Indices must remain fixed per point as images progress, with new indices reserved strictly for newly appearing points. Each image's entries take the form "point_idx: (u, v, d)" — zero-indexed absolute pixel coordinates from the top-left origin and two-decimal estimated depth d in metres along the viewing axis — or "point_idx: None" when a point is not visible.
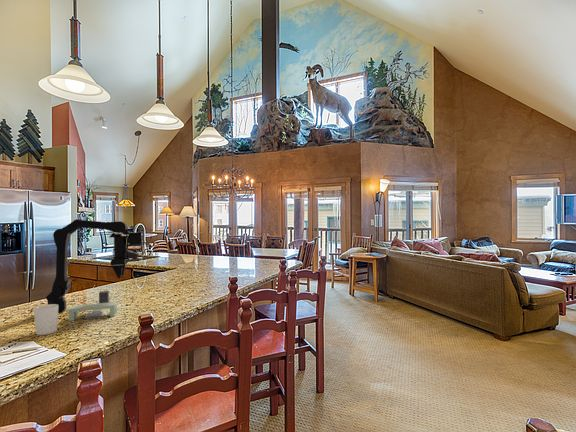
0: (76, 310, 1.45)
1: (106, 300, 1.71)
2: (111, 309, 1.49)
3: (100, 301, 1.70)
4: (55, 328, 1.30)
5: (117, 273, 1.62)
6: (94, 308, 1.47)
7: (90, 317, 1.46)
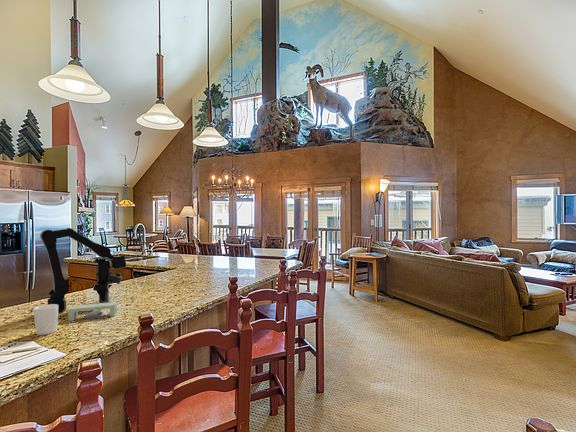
0: (76, 310, 1.45)
1: (106, 300, 1.71)
2: (111, 309, 1.49)
3: (100, 301, 1.70)
4: (55, 328, 1.30)
5: (101, 296, 1.69)
6: (94, 308, 1.47)
7: (90, 317, 1.46)
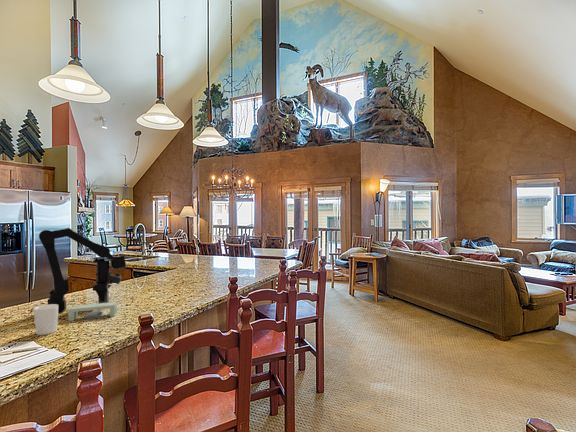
0: (76, 310, 1.45)
1: (105, 300, 1.69)
2: (111, 309, 1.49)
3: (99, 301, 1.68)
4: (55, 328, 1.30)
5: (100, 297, 1.68)
6: (94, 308, 1.47)
7: (90, 317, 1.46)
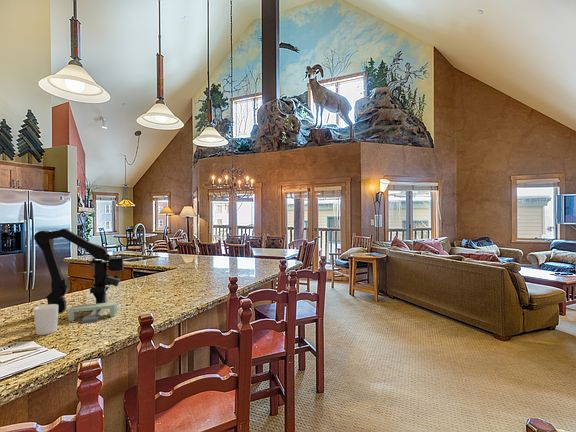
0: (76, 310, 1.45)
1: None
2: (111, 309, 1.49)
3: None
4: (55, 328, 1.30)
5: (98, 299, 1.62)
6: (94, 308, 1.47)
7: (88, 320, 1.41)
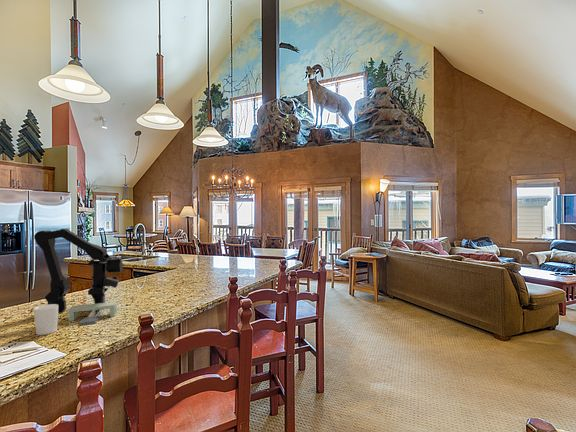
0: (76, 310, 1.45)
1: None
2: (111, 309, 1.49)
3: None
4: (55, 328, 1.30)
5: (96, 301, 1.59)
6: (94, 308, 1.47)
7: (85, 323, 1.38)
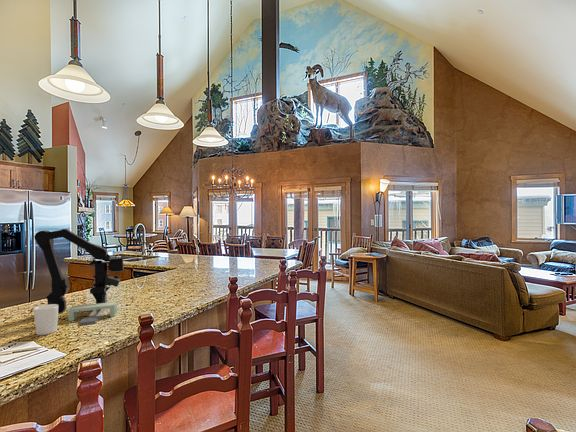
0: (76, 310, 1.45)
1: None
2: (111, 309, 1.49)
3: None
4: (55, 328, 1.30)
5: (98, 300, 1.61)
6: (94, 308, 1.47)
7: (85, 323, 1.38)
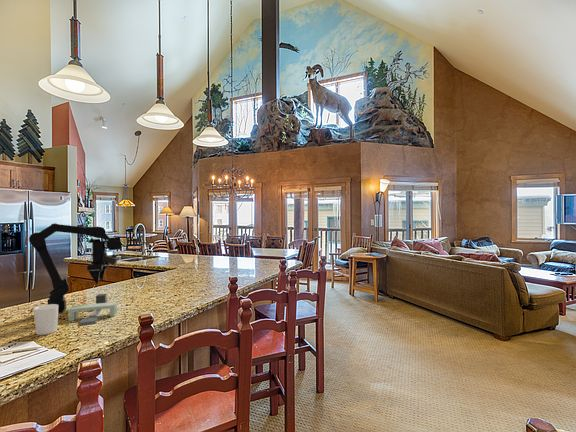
0: (76, 310, 1.45)
1: None
2: (111, 309, 1.49)
3: None
4: (55, 328, 1.30)
5: (94, 278, 1.64)
6: (94, 308, 1.47)
7: (85, 323, 1.38)
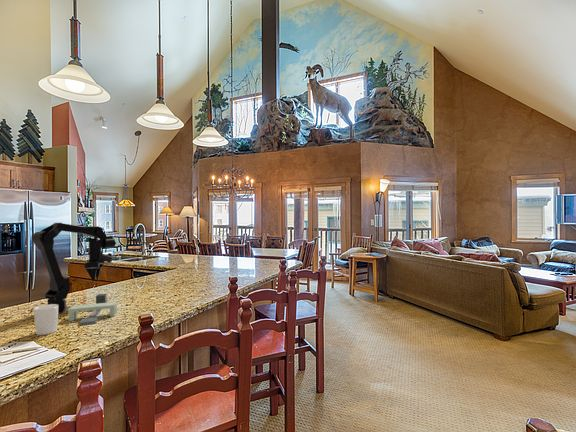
0: (76, 310, 1.45)
1: None
2: (111, 309, 1.49)
3: None
4: (55, 328, 1.30)
5: (91, 275, 1.71)
6: (94, 308, 1.47)
7: (85, 323, 1.38)
